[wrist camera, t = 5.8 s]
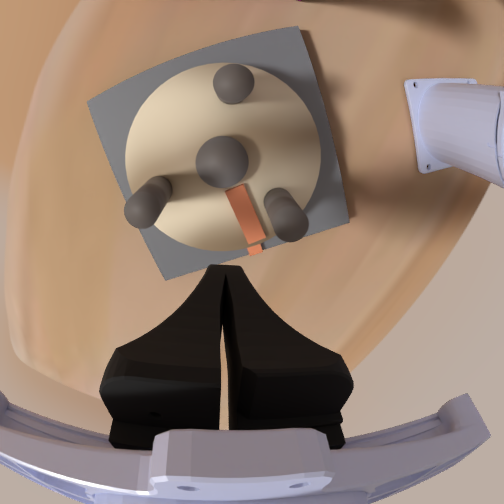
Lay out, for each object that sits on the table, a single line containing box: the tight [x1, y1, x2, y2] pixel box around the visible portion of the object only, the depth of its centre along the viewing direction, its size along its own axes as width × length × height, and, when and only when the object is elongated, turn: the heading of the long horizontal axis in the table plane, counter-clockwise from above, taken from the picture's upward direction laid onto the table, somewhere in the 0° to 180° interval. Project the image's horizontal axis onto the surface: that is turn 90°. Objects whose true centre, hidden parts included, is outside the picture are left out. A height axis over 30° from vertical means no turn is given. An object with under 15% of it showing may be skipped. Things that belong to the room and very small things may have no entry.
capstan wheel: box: [124, 63, 321, 251], centre depth 15 cm, size 12×12×6 cm
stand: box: [87, 26, 350, 281], centre depth 18 cm, size 15×15×1 cm
